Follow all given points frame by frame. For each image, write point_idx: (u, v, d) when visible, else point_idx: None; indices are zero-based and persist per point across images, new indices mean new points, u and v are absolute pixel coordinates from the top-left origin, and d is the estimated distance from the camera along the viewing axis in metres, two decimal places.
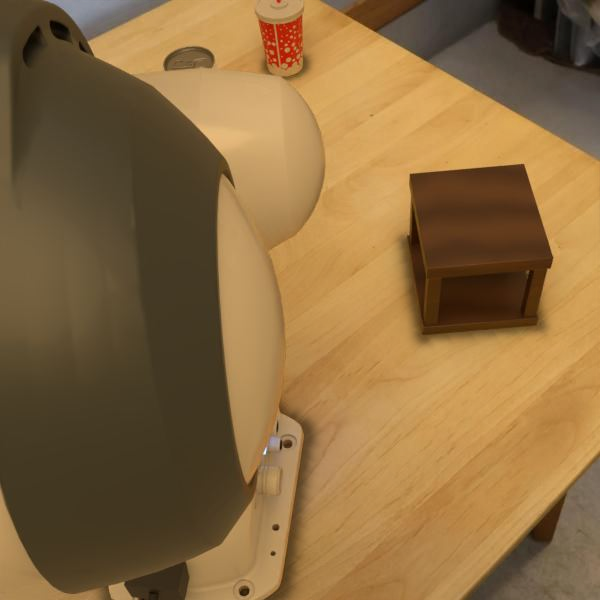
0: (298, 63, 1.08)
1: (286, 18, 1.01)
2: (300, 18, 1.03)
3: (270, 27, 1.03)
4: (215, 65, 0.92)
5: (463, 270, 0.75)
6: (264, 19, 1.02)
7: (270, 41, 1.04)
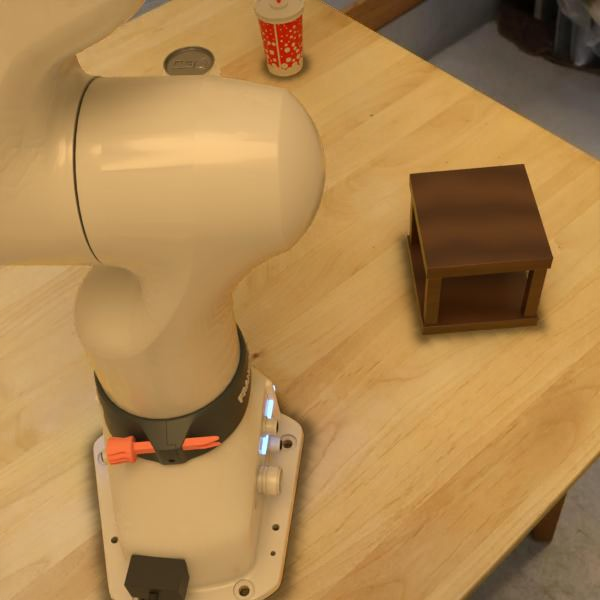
0: (298, 63, 1.08)
1: (286, 18, 1.01)
2: (300, 18, 1.03)
3: (270, 27, 1.03)
4: (215, 65, 0.92)
5: (463, 270, 0.75)
6: (264, 19, 1.02)
7: (269, 41, 1.04)
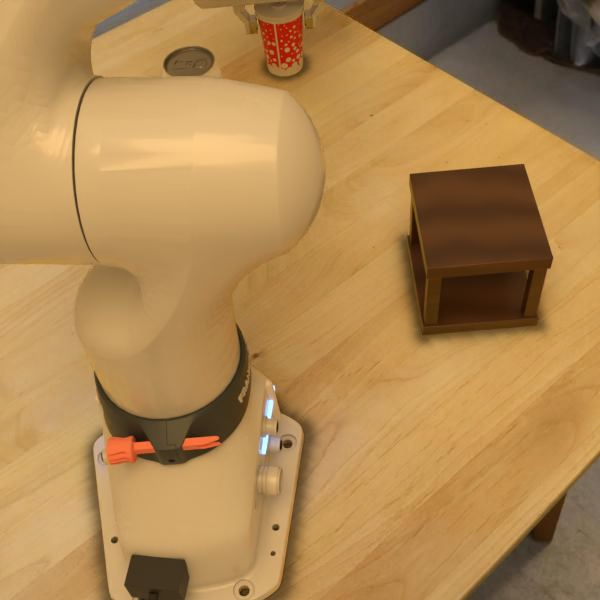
0: (298, 63, 1.08)
1: (285, 18, 1.01)
2: (300, 18, 1.03)
3: (270, 27, 1.03)
4: (215, 65, 0.92)
5: (463, 270, 0.75)
6: (264, 19, 1.02)
7: (269, 41, 1.04)
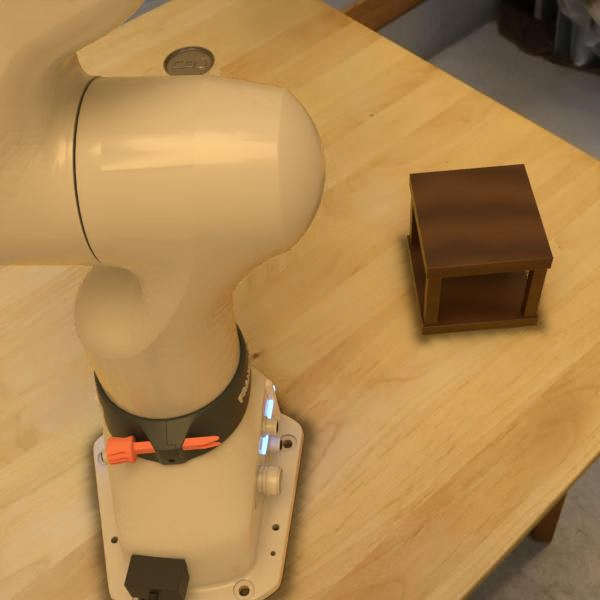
0: None
1: None
2: None
3: None
4: (215, 65, 0.92)
5: (463, 270, 0.75)
6: None
7: None
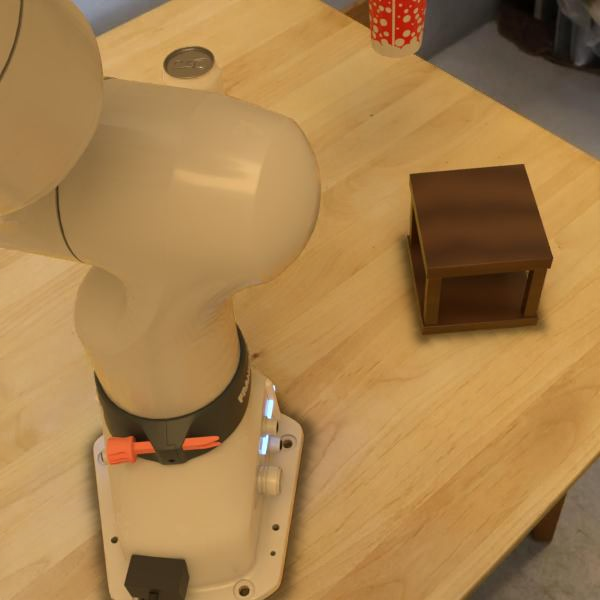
0: (418, 39, 0.76)
1: None
2: None
3: None
4: (215, 65, 0.92)
5: (463, 270, 0.75)
6: None
7: (383, 6, 0.73)
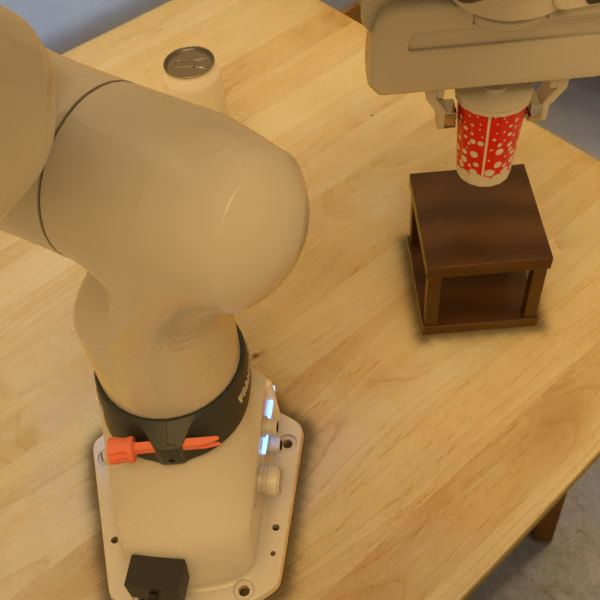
0: (508, 168, 0.72)
1: (510, 109, 0.65)
2: None
3: (481, 121, 0.67)
4: (215, 65, 0.92)
5: (463, 270, 0.75)
6: (475, 109, 0.66)
7: (475, 139, 0.68)
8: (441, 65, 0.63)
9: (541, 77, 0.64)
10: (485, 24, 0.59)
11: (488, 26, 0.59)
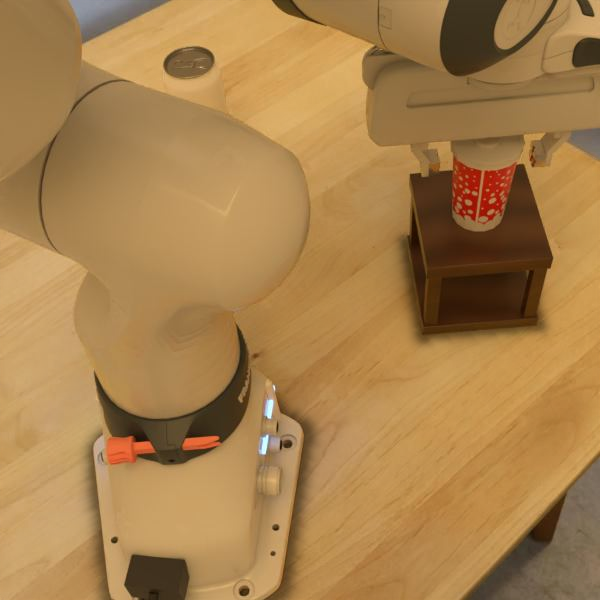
0: (501, 214, 0.76)
1: (502, 163, 0.69)
2: None
3: (475, 173, 0.71)
4: (215, 65, 0.92)
5: (463, 270, 0.75)
6: (469, 163, 0.70)
7: (469, 189, 0.73)
8: (437, 119, 0.67)
9: (531, 130, 0.68)
10: (478, 84, 0.64)
11: (481, 86, 0.64)
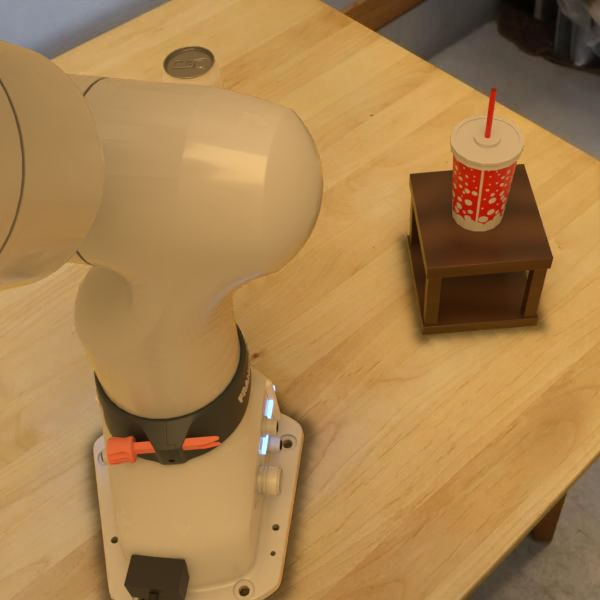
0: (501, 214, 0.76)
1: (502, 163, 0.69)
2: None
3: (474, 173, 0.71)
4: (215, 65, 0.92)
5: (463, 270, 0.75)
6: (469, 163, 0.70)
7: (469, 189, 0.73)
8: None
9: None
10: None
11: None
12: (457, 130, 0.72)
